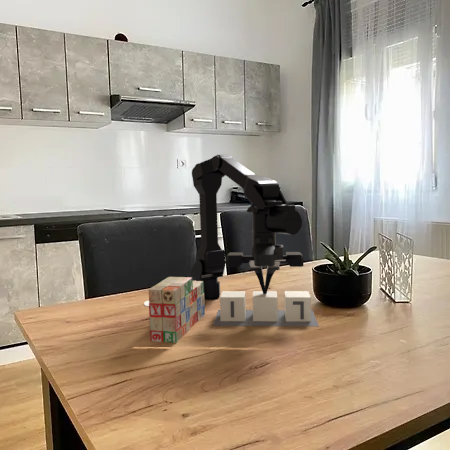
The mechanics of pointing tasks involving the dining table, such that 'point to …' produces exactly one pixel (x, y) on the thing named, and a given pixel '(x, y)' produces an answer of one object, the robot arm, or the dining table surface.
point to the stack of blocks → (175, 308)
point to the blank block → (265, 306)
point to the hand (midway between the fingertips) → (264, 293)
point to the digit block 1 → (232, 306)
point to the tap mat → (250, 321)
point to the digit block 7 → (297, 306)
